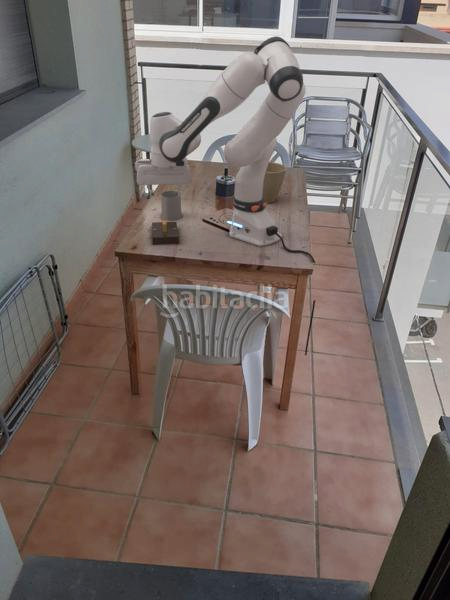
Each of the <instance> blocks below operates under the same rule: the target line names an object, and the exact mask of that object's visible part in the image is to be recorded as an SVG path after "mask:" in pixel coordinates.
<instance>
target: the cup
mask: <svg viewBox="0 0 450 600" xmlns="http://www.w3.org/2000/svg"><path fill="white" fill-rule="evenodd" d="M181 194H182V193H181V192H180V191H179V195H175V190H165V191H164V190H163V191H162V192H161V193H160V205H161V206H160V207H161V219H166V221H177V220H179V219H180V218H182V195H181Z"/></svg>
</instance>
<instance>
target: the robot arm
mask: <svg viewBox="0 0 450 600" xmlns="http://www.w3.org/2000/svg"><path fill="white" fill-rule="evenodd" d="M264 84H267V86H268V88H269V93H268V94H267V95H266V97H265V98H264V100H263V102H262V103H261V105H260V106H259V108H258V109H257V111H256V112H255V113H254V115H253V116H252V117H251V118H250V119H249V121H247V122H246V123H245V125H243V126H242V128H241V129H240V130H239V131H238V132H237V134H235V136H234V137H233V138H231V139H230V140H229V141H228V142H227V143H226V144H225V145H224V148H223V156H224V160H225V161H226V163H227V164H228V165H229V166H231V167H233V168H239V170H238V172H237V173H236V175H235V179H234V196H233V199H232V206H233V211H232V217H231V221H230V220H227V223H228V224H230V225H229V229H228V230H229V232H228V236H229V237H231V238H233V239H237V240H240V241H242V242H245V243H248V244H251V245H254V246H258V247H264V246H269V245H272V244H274V243H277V242H278V241H281V244H282V247H283V248H284V249H285V251H287V252H290V253H303V254H305V255H308V256H309V257H310V259H311V261H312V263H313V264H316V260H315V258H314V256H313V255H312V254H311V253H309V252H308V251H305V250H301V249H294V250H293V249H289V248H288V247H286V245H285V241H284V239H283V234H282V233H281V232H279V231H278V230H279V229H278V227H277V222H276V220H275V219H274V217H273V216H272V215H271V214H270V213H269V212H268V210H267V209H266V206H268V203H267V202H266V203H264V199H263V197H262V195H263V184H264V177H265V173H266V170H267V167H268V164H269V162H271V161H270V160H271V158H272V156H273V154H274V152H275V151H276V149H277V146H278V141H277V137H279V135H280V134H281V133H282V132H283V130H284V129H285V128H286V126H287V124H288V123H289V122H290V120H292V118H293V116H294V115H295V113H297V111H298V109H299V107H300V106H301V104H302V102H303V99H304V98H305V95H306V92H307V91H306V84H305V83H304V75H303V72H302V70H301V67H300V64H299V62H298V59H297V57H296V56H295V54H294V52H293V51H292V49H291V46H290V45H289V43H288V42H287V40H286V39H284V38H283V37H281V36H271V37H269V38H266V39H265V40H264V41H263V42H261V43H260V44H259V45H258V46H257V47H256V48H255V49H254V51H253V52H252V51H245V52H243V53H241V54H239V56H237V57H236V58H235V59H234V60H233V61H232V62H231V63H229V64H228V65H227V67H225V69H224V70H223V71H222V72H220V74H219V75H218V77H217V78H216V79H215V81H214V82H213V83H212V84H211V86H210V87H209V89H208V91H207V92H206V94H205V95H204V96H203V98H202V99H201V101H200V102H198V103H199V104H198V105H197V106H196V107H195V108H194V109H193V110H192V112H191V113H190V114H188V116H187V117H185V119H184V120H183V121H182V120H180V119H178V117H176V116H175V115H174V113H172V112H169V111H162V112H158V113H155V114H153V115H152V116H151V117H150V121H149V141H150V143H151V146H150V158H146V159H143V158H140V159H138V160H136V161H135V163H134V169H135V171H136V183H137V185H139V186H146V189H147V190H148V192H149V196H150V197H154V196H155V190H154V189H152V188H151V186H167V185H168V186H169V185H171V186H173V185H174V186H176V185H177V189H174V191H175V195H179V192H180V190H181V189H182V188H183V187H182V186H183V185H190V184H191V183H192V176H191V175H192V174H191V170H190V166H189V163H188V158H187V156H189V155H191V154H192V153H194V151H196V150H197V149H198V148H199V147H200V145H201V143H202V137H201V133H203V131H204V130H205V129H206V128H207V127H208V126H209V125H210V124H211V123H213V122H215V121H216V120H219V119H221V118H222V117H224V116H226V115H228V114H230V113H231V112H233V111H234V110H236V109H237V108H238V107H240V106H241V105H242V104H243V103H244V102H245V101H246V100H247V99H248V98H249V97H250V96H251V95H252V93H253V92H254V91H255V90H256V89H257V88H258V87H260V86H261V85H264ZM315 306H316V299H314V300H313V301H312V309H311V315H310V320H309V326H308V331H307V336H306V337H307V338H306V344H305V351H304V356H307V354H308V349H309V341H310V335H311V329H312V324H313V318H314V312H315Z"/></svg>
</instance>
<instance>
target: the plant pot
mask: <svg viewBox="0 0 450 600" xmlns="http://www.w3.org/2000/svg"><path fill="white" fill-rule="evenodd" d="M286 173H287V167H286V165H284V164H281V163H278V162H273V161H269V164H268V167H267V170H266V173H265V177H264V184H263V195H262V197H263V199H264V203H266V202H267V204H272V203H274V202H275V201H276V199H277V197H278V195H279V193H280V190H281V188H282V186H283V183H284V179H285V175H286Z"/></svg>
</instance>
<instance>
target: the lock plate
mask: <svg viewBox="0 0 450 600" xmlns="http://www.w3.org/2000/svg"><path fill="white" fill-rule="evenodd" d="M166 226H167V232H163V221H158V222H157V221H156V222H151V241H152V245H173V244H174V245H175V244H180V242H179V239H180V238H179V231H178V223H177V221H166Z"/></svg>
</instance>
